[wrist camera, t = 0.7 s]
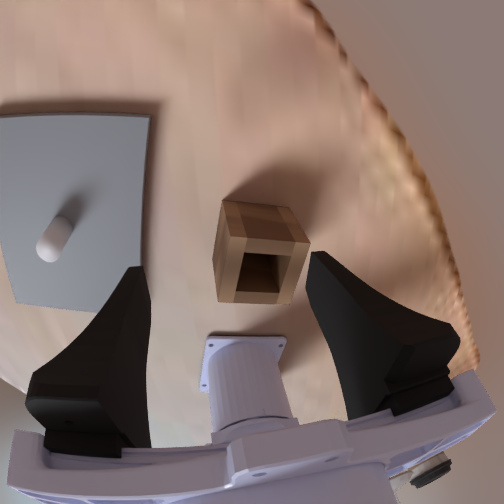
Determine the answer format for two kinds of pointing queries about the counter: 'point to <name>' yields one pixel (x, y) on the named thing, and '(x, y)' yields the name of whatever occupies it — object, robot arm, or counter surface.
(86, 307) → the pin plate
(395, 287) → the counter surface
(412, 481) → the coffee cup
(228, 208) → the walnut collar
